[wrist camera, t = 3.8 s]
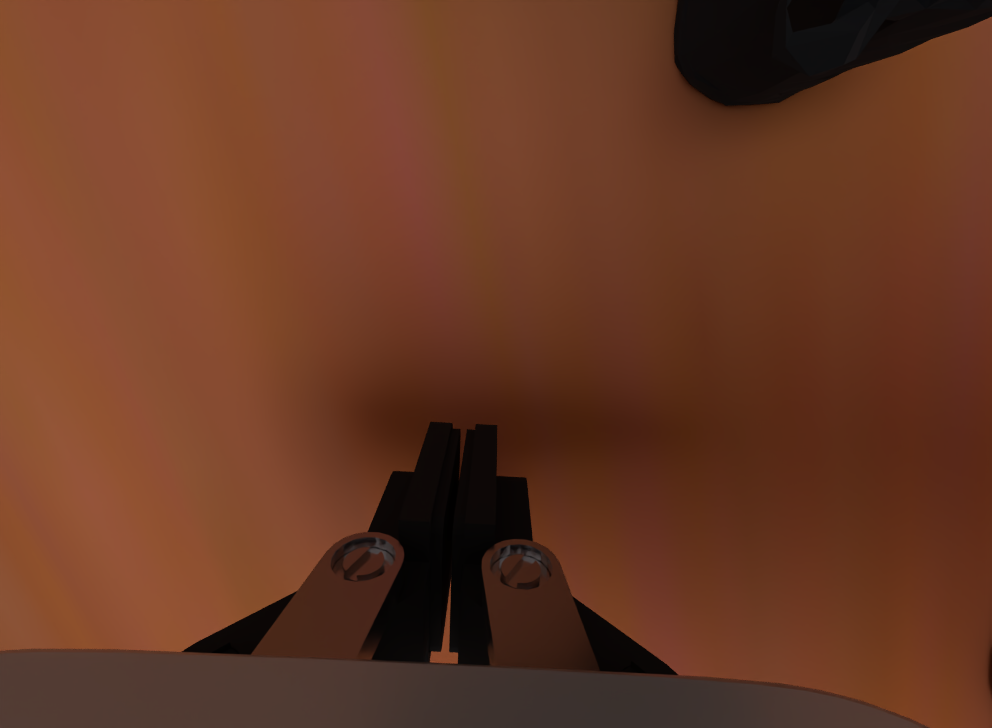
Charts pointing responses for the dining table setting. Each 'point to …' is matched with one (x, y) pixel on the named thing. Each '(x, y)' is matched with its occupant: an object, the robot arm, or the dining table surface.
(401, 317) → the dining table surface
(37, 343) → the dining table surface
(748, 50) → the film camera
